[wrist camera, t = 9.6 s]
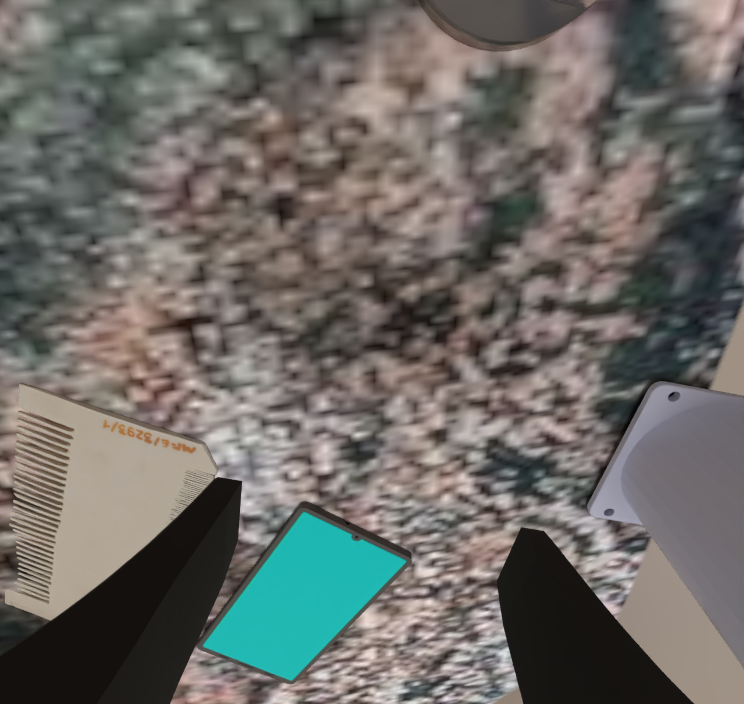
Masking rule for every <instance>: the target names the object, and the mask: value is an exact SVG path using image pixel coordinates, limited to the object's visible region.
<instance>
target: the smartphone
mask: <svg viewBox="0 0 744 704" xmlns="http://www.w3.org/2000/svg"><path fill="white" fill-rule="evenodd" d="M411 562H412V561H411V553H410V552H409V551H407V550H405V549H403V548H401V547H399V546H397V545H395V544H393V543H391V542H389V541H387V540H385V539H383V538H381V537H379V536H377V535H374V534H372V533H370V532H368V531H366V530H364V529H362V528H360V527H358V526H356V525H354V524H352V523H349V525H347V524H346V523H345V520H344V519H342V518H339V517H337V516H335V515H333V514H331V513H329V512H327V511H325V510H323V509H321V508H319V507H317V506H315V505H313V504H311V503H308V502H302V503H300V504H299V506H298V507H297V508H296V510H295V511H294V513H293V514H292V515H291V517H290V518H289V519H288V521H287V522H286V523H285V525H284V526H283V527H282V529H281V530H280V531H279V533H278V534H277V536H276V537H275V538H274V540H273V541H272V542H271V544H270V545H269V546H268V548H267V549H266V550H265V552H264V553H263V554H262V556H261V557H260V559H259V560H258V561H257V563H256V564H255V565H254V567H253V568H252V569H251V571H250V572H249V573H248V575H247V576H246V577H245V579H244V580H243V582H242V583H241V584H240V586H239V587H238V588H237V590H236V591H235V592H234V594H233V595H232V596H231V598H230V599H229V600H228V602H227V603H226V605H225V606H224V607H223V609H222V610H221V611H220V613H219V614H218V615H217V617H216V618H215V619H214V621H213V622H212V623H211V625H210V626H209V628H208V629H207V630H206V632H205V633H204V634H203V636H202V637H201V638H200V641H199V643H198V646H197V647H198V649H200V650H202V651H204V652H207V653H209V654H212V655H215V656H217V657H220V658H222V659H225V660H228V661H230V662H233V663H235V664H238V665H241V666H243V667H246V668H248V669H251V670H254V671H256V672H259V673H261V674H264V675H266V676H269V677H272V678H274V679H277V680H279V681H282V682H285V683H287V684H294V683H295V682H296V681H297V680H298V679H299V678H300V677H301V676H302V675H303V674H304V673H305V672H306V671H307V670H308V669H309V668H310V667H311V666H312V665H313V664H314V663H315V662H316V660H317V659H318V658H319V657H320V656H321V655H322V654H323V653H324V652H325V651H326V650H327V649H328V648H329V647H330V646H331V645H332V644H333V643H334V642H335V641H336V640H337V639H338V638H339V637H340V636H341V635H342V634H343V633H344V632H345V631H346V630H347V629H348V628H349V627H350V626H351V624H352V623H353V622H354V621H355V620H356V619H357V618H358V617H359V616H360V615H361V614H362V613H363V612H364V611H365V610H366V609H367V608H368V607H369V606H370V605H371V604H372V603H373V602H374V601H375V600H376V599H377V598H378V597H379V596H380V595H381V594H382V593H383V592H384V591H385V590H386V589H387V587H388V586H389V585H390V584H391V583H392V582H393V581H394V580H395V579H396V578H397V577H398V576H399V575H400V574H401V573H402V572H403V571H404V570H405V569H406V568H407V567H408V566H409V565H410V564H411Z"/></svg>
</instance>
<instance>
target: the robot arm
mask: <svg viewBox="0 0 744 704" xmlns="http://www.w3.org/2000/svg"><path fill="white" fill-rule="evenodd" d="M672 392H675V393H674V394H673V395H672V396H670V397H668V396H669V394H670V393H672ZM241 489H242V481H238V480H232V479H226V478H220V477H217V478H216V479H214V480H213V481H212V482H211V483H210V484H209V485H208V486H207V487H206V488H205V489H204V490H203V491H202V492H201V493H200V494H199V495H198V496H197V497H196V498H195V499H194V500H193V501H192V502H191V503H190V504H189V505H188V506H187V507H186V508H185V509H184V510H183V511H182V512H181V513H180V514H179V515H178V516H177V517H176V518H175V519H174V520H173V521H172V522H171V523H170V524H169V525H168V526H167V527H165V528H164V529H163V530H162V531H161V532H160V533H159V534H158V535H157V536H156V537H155V538H154V539H152V540H151V541H150V542H149V543H148V544H147V545H146V546H145V547H144V548H142V549H141V550H140V551H139V552H138V553H137V554H135V555H134V556H133V557H132V558H131V559H129V560H128V561H127V562H126V563H125V564H123V565H122V566H121V567H120V568H119V569H118V570H116V571H115V572H114V573H113V574H112V575H110V576H109V577H108V578H107V579H105V580H104V581H103V582H102V583H100V584H99V585H98V586H97V587H95V588H94V589H93V590H91V591H90V592H89V593H88V594H86V595H85V596H84V597H82V598H81V599H80V600H78V601H77V602H76V603H74V604H73V605H72V606H70V607H69V608H68V609H66V610H65V611H63V612H62V613H61V614H59V615H58V616H57V617H55V618H54V619H52V620H51V621H49V622H48V623H47V624H45V625H44V626H42V627H41V628H39V629H38V630H36V631H35V632H34V633H32V634H31V635H29V636H28V637H26V638H25V639H24V640H22V641H21V642H19V643H18V644H16V645H15V646H13V647H12V648H10V649H9V650H7V651H6V652H4V653H3V654H1V655H0V704H170V702H171V700H172V698H173V695H174V693H175V690H176V688H177V685H178V683H179V681H180V678H181V676H182V674H183V672H184V670H185V667H186V665H187V663H188V661H189V658H190V656H191V654H192V652H193V650H194V647H195V645H196V643H197V641H198V638H199V636H200V634H201V632H202V630H203V627H204V625H205V623H206V621H207V619H208V616H209V614H210V612H211V610H212V607H213V605H214V603H215V601H216V598H217V596H218V594H219V592H220V589H221V587H222V585H223V583H224V580H225V577H226V574H227V571H228V568H229V565H230V562H231V559H232V556H233V553H234V550H235V547H236V544H237V541H238V531H239V517H240V503H241ZM587 509H588V511H589V513H590V514H591V515H592V516H594V517H597V518H603V519H609V520H615V521H621V522H627V523H633V524H639V525H644V527H645V528H646V530H647V531H648V532H649V534H650V535H651V537H652V538H653V540H654V541H655V542H656V544H657V545H658V547H659V548H660V550H661V551H662V552H663V554H664V555H665V557H666V558H667V559H668V561H669V562H670V564H671V565H672V567H673V568H674V569H675V571H676V572H677V573H678V575H679V577H680V578H681V579H682V581H683V582H684V584H685V585H686V587H687V588H688V589H689V591H690V592H691V594H692V595H693V597H694V598H695V600H696V601H697V602H698V604H699V605H700V607H701V608H702V609H703V611H704V612H705V614H706V615H707V616H708V618H709V619H710V621H711V622H712V624H713V625H714V627H715V628H716V630H717V631H718V632H719V634H720V635H721V637H722V638H723V640H724V641H725V642H726V644H727V645H728V647H729V648H730V649H731V651H732V652H733V654H734V655H735V657H736V658H737V659H738V661H739V662H740V664H741V665H742V667H743V668H744V396H741V395H735V394H730V393H725V392H719V391H714V390H708V389H703V388H698V387H692V386H687V385H681V384H676V383H671V382H665V381H659V382H656V383H654V384H652V385H651V386H650V387H649V389H648V391H647V392H646V394H645V396H644V398H643V400H642V402H641V404H640V406H639V408H638V410H637V411H636V413H635V415H634V417H633V419H632V421H631V423H630V425H629V427H628V429H627V430H626V432H625V434H624V436H623V438H622V440H621V442H620V444H619V446H618V447H617V449H616V451H615V453H614V455H613V457H612V459H611V461H610V463H609V465H608V466H607V468H606V470H605V472H604V474H603V476H602V478H601V480H600V482H599V484H598V485H597V487H596V489H595V491H594V493H593V495H592V497H591V499H590V501H589V503H588V505H587ZM607 509H608V510H607ZM497 585H498V593H499V601H500V608H501V614H502V621H503V626H504V630H505V634H506V638H507V642H508V646H509V650H510V654H511V658H512V662H513V666H514V670H515V673H516V677H517V681H518V685H519V689H520V692H521V696H522V700H523V704H694V703H693V702H691V700H690V699H689V698H688V697H687V696H686V695H685V694H684V693H683V692H682V691H681V690H680V689H679V688H678V687H677V686H676V685H675V684H674V683H673V682H672V681H671V680H670V679H669V678H668V677H667V676H666V675H665V674H664V673H663V672H662V671H661V670H660V668H659V667H658V666H657V665H656V664H655V663H654V662H653V661H652V660H651V659H650V657H649V656H648V655H647V654H646V653H645V652H644V651H643V650H642V648H641V647H640V646H639V645H638V644H637V643H636V642H635V641H634V640H633V639H632V637H631V636H630V635H629V634H628V633H627V632H626V630H625V629H624V628H623V627H622V626H621V625H620V623H619V622H618V621H617V620H616V619H615V618H614V616H613V615H612V614H611V613H610V612H609V610H608V609H607V608H606V607H605V606H604V604H603V603H602V602H601V601H600V600H599V598H598V597H597V596H596V595H595V593H594V592H593V591H592V590H591V589H590V587H589V586H588V585H587V584H586V582H585V581H584V580H583V579H582V577H581V576H580V575H579V574H578V572H577V571H576V570H575V569H574V567H573V566H572V565H571V564H570V562H569V561H568V560H567V559H566V557H565V556H564V555H563V554H562V552H561V551H560V550H559V549H558V547H557V546H556V545H555V544H554V542H553V541H552V540H551V539H550V538H549V536H548V535H547V534H546V533H545V532H544V531H540V530H534V529H528V528H522V527H521V529H520V531H519V533H518V536H517V538H516V540H515V542H514V544H513V547H512V549H511V551H510V553H509V555H508V558H507V560H506V562H505V564H504V566H503V569H502V571H501V573H500V575H499V578H498V580H497Z"/></svg>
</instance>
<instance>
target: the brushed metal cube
mask: <svg viewBox="0 0 744 704" xmlns="http://www.w3.org/2000/svg"><path fill="white" fill-rule="evenodd" d="M546 1H551V2H555V3H560V4H565V5H569V6H574V7H579V8H583V9H586V8H587V7H589V6H590V5H591V4H592V3H594V2H595V1H596V0H546Z"/></svg>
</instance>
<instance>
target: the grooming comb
mask: <svg viewBox="0 0 744 704" xmlns="http://www.w3.org/2000/svg"><path fill="white" fill-rule="evenodd" d="M18 406H19V407H21V408H23V409H25V410H28V411H30V412H33V413H35V414H38V415H40V416H42V417H45V418H47V419H50V420H52V421H55V422H57V423H60V424H63V425H65V426H68V427H70V428H68V427H65V426H63V425H60V424H57V423H54V422H51V421H48V420H46V419H43V418H40V417H37V416H34V415H31V414H28V413H24V412H20V411H19V412H18V414H19V415H21V416H23V417H26V418H28V419H30V420H33V421H35V422H38V423H40V424H42V425H45V426H48V427H50V428H53V429H55V430H53V429H50V428H47V427H44V426H41V425H38V424H35V423H32V422H29V421H26V420H22V419H18V421H17V422H20V423H22V424H25V425H27V426H29V427H32V428H34V429H36V430H39V431H41V432H44V433H46V434H49V435H51V436H54V437H56V438H54V437H51V436H48V435H45V434H42V433H39V432H37V431H34V430H31V429H28V428H24V427H21V426H17V429H18V430H21V431H23V432H25V433H28V434H30V435H32V436H35V437H37V438H40V439H42V440H45V441H47V442H50V443H52V444H50V443H47V442H44V441H41V440H38V439H35V438H32V437H29V436H26V435H23V434H20V433H17V434H16V435H17V437H19V438H21V439H24V440H26V441H29V442H31V443H34V444H36V445H38V446H41V447H43V448H46V449H49V450H51V451H49V450H46V449H43V448H39V447H37V446H34V445H30V444H27V443H24V442H19V441H16V443H15V445H17V446H20V447H22V448H25V449H28V450H30V451H33V452H36V453H38V454H41V455H44V456H46V457H44V456H41V455H38V454H35V453H32V452H29V451H26V450H23V449H19V448H16V451H18V452H20V453H23V454H25V455H28V456H30V457H32V458H35V459H37V460H40V461H42V462H45V463H47V464H50V465H52V466H50V465H47V464H44V463H41V462H38V461H35V460H32V459H29V458H26V457H23V456H20V455H16V456H15V458H18V459H20V460H22V461H25V462H27V463H29V464H32V465H34V466H37V467H39V468H42V469H44V470H47V471H49V472H47V471H43V470H40V469H37V468H34V467H31V466H28V465H25V464H22V463H19V462H16V461H15V463H16V465H18V466H20V467H22V468H25V469H27V470H30V471H32V472H34V473H37V474H39V475H42V476H44V477H47V478H50V479H53V480H56V481H58V482H56V481H53V480H50V479H47V478H44V477H41V476H38V475H35V474H32V473H29V472H26V471H23V470H20V469H15V471H17V472H19V473H22V474H24V475H26V476H28V477H31V478H33V479H36V480H38V481H41V482H43V483H46V484H48V485H51V486H54V487H56V488H59V489H56V488H53V487H50V486H47V485H44V484H42V483H39V482H36V481H33V480H30V479H27V478H24V477H21V476H18V475H14V477H15V478H18V479H20V480H22V481H25V482H27V483H30V484H32V485H35V486H38V487H40V488H43V489H46V490H48V491H51V492H54V493H56V494H54V493H51V492H47V491H44V490H41V489H38V488H35V487H32V486H30V485H26V484H23V483H20V482H17V481H14V483H15V484H17V485H20V486H22V487H24V488H27V489H29V490H32V491H34V492H36V493H39V494H41V495H44V496H46V497H49V498H51V499H49V498H46V497H43V496H40V495H37V494H34V493H31V492H28V491H24V490H21V489H18V488H14V490H17V491H19V492H21V493H24V494H26V495H28V496H31V497H33V498H36V499H38V500H41V501H44V502H46V503H49V504H52V505H54V506H52V505H49V504H46V503H43V502H40V501H38V500H35V499H32V498H29V497H25V496H22V495H19V494H16V493H14V494H15V495H16V496H17V497H18V498H21V499H23V500H25V501H28V502H30V503H33V504H35V505H38V506H40V507H43V508H45V509H42V508H39V507H36V506H33V505H29V504H26V503H23V502H19V501H16V500H13V502H14V503H16V504H19V505H21V506H24V507H26V508H29V509H31V510H34V511H36V512H39V513H42V514H44V515H41V514H38V513H35V512H32V511H29V510H26V509H22V508H19V507H16V506H14V507H13V508H15V509H18V510H20V511H23V512H25V513H28V514H30V515H33V516H35V517H38V518H40V519H43V520H46V521H48V522H46V521H43V520H40V519H36V518H33V517H30V516H27V515H23V514H20V513H16V512H13V511H12V513H13V514H15V515H16V516H19V517H21V518H24V519H26V520H29V521H32V522H34V523H37V524H40V525H42V526H40V525H36V524H33V523H30V522H27V521H24V520H20V519H17V518H13V517H11V520H13V521H15V522H17V523H20V524H23V525H26V526H29V527H31V528H34V529H37V530H40V531H42V532H40V531H37V530H34V529H31V528H27V527H24V526H20V525H16V524H13V523H9V525H10V526H12V527H15V528H18V529H20V530H23V531H26V532H29V533H32V534H35V535H38V536H41V537H44V538H41V537H38V536H35V535H32V534H29V533H26V532H22V531H19V530H15V529H13V531H15V532H18V533H20V534H23V535H25V536H28V537H30V538H32V539H35V540H38V541H40V542H43V543H46V544H48V545H46V544H43V543H40V542H36V541H33V540H30V539H27V538H23V537H20V536H16V535H14V536H15V537H17V538H19V539H21V540H24V541H26V542H29V543H31V544H34V545H36V546H39V547H42V548H44V549H42V548H39V547H35V546H32V545H29V544H25V543H22V542H19V541H16V543H18V544H21V545H23V546H26V547H28V548H30V549H33V550H35V551H38V552H41V553H43V554H41V553H38V552H35V551H31V550H28V549H24V548H21V547H18V546H17V548H18V549H20V550H23V551H25V552H27V553H30V554H32V555H35V556H38V557H40V558H43V559H40V558H37V557H33V556H30V555H27V554H23V553H20V552H16V553H17V554H19V555H22V556H24V557H27V558H29V559H32V560H34V561H37V562H39V563H36V562H33V561H29V560H26V559H23V558H19V557H18V559H20V560H22V561H24V562H27V563H29V564H32V565H34V566H37V567H39V568H42V569H44V570H42V569H39V568H36V567H32V566H29V565H25V564H22V563H19V565H21V566H24V567H26V568H29V569H31V570H34V571H36V572H39V573H41V574H39V573H36V572H32V571H29V570H25V569H22V568H18V569H20V570H22V571H25V572H27V573H29V574H32V575H34V576H37V577H39V578H37V577H33V576H29V575H26V574H22V573H18V574H19V575H22V576H24V577H27V578H29V579H32V580H34V581H37V582H39V583H42V584H44V585H42V584H39V583H36V582H32V581H28V580H25V579H21V578H18V580H20V581H23V582H25V583H28V584H30V585H33V586H35V587H32V586H29V585H25V584H21V583H18V582H15V584H17V585H20V586H22V587H25V588H27V589H30V590H33V591H35V592H38V593H35V592H32V591H29V590H26V589H19V588H16V589H19V590H21V591H24V592H27V593H29V594H32V595H35V596H37V597H40V598H43V599H40V598H37V597H33V596H30V595H27V594H23V593H19V592H16V591H12V590H6V594H5V603H6V604H9V605H14V606H15V607H17V608H20V609H23V610H25V611H28V612H31V613H33V614H36V615H39V616H41V617H44V618H46V619H48V620H52V619H54V618H55V617H57V616H58V615H59V614H61V613H62V612H63V611H65V610H66V609H68V608H69V607H70V606H72V605H73V604H74V603H76V602H77V601H78V600H80V599H81V598H82V597H84V596H85V595H86V594H88V593H89V592H90V591H91V590H93V589H94V588H95V587H97V586H98V585H99V584H100V583H102V582H103V581H104V580H105V579H107V578H108V577H109V576H110V575H112V574H113V573H114V572H115V571H116V570H118V569H119V568H120V567H121V566H122V565H123V564H125V563H126V562H127V561H128V560H129V559H131V558H132V557H133V556H134V555H135V554H137V553H138V552H139V551H140V550H141V549H142V548H144V547H145V546H146V545H147V544H148V543H149V542H150V541H151V540H152V539H154V538H155V537H156V536H157V535H158V534H159V533H160V532H161V531H162V530H163V529H164V528H165V527H167V526H168V525H169V524H170V523H171V522H172V521H173V520H174V519H175V518H176V517H177V516H178V515H179V514H180V513H181V512H182V511H183V510H184V509H185V508H186V507H187V506H188V505H189V504H190V503H191V502H192V501H193V500H194V499H195V498H196V497H197V496H198V495H199V494H200V493H201V492H202V491H203V490H204V489H205V488H206V487H207V486H208V485H209V484H210V483H211V482H212V481H213V480H214V477H215V475H216V474H217V471H218V467H217V465H216V463H215V461H214V460H213V458H212V456H211V454H210V452H209V450H208V448H207V446H206V445H205V443H204V442H202V441H199V440H196V439H193V438H190V437H187V436H184V435H181V434H178V433H175V432H172V431H169V430H166V429H163V428H160V427H156V426H153V425H150V424H147V423H144V422H141V421H138V420H134V419H131V418H128V417H125V416H122V415H119V414H116V413H113V412H109V411H106V410H103V409H100V408H97V407H94V406H91V405H88V404H85V403H82V402H79V401H75V400H72V399H69V398H67V397H64V396H61V395H58V394H55V393H52V392H49V391H46V390H43V389H39V388H36V387H32V386H29V385H25V384H19V393H18ZM56 430H58V431H60V432H58V431H56ZM62 432H63V433H62ZM65 433H66V434H65ZM57 438H59V439H57ZM60 439H62V440H64V441H62V440H60ZM65 441H67V442H65ZM68 442H69V443H68ZM53 444H55V445H53ZM56 445H58V446H56ZM59 446H60V447H59ZM62 447H63V448H62ZM65 448H66V449H65ZM67 449H68V450H67ZM52 451H54V452H52ZM55 452H57V453H55ZM58 453H59V454H58ZM60 454H62V455H60ZM63 455H64V456H63ZM66 456H67V457H66ZM47 457H49V458H47ZM50 458H52V459H50ZM53 459H55V460H58V461H60V462H58V461H55V460H53ZM61 462H63V463H61ZM64 463H66V464H64ZM53 466H55V467H53ZM56 467H58V468H56ZM59 468H60V469H59ZM62 469H63V470H62ZM50 472H52V473H54V474H52V473H50ZM55 474H57V475H55ZM58 475H59V476H58ZM61 476H62V477H61ZM59 482H61V483H59ZM62 483H63V484H62ZM60 489H62V490H60ZM63 490H64V491H63ZM57 494H59V495H57ZM60 495H61V496H60ZM52 499H54V500H52ZM55 500H57V501H55ZM58 501H60V502H58ZM61 502H62V503H61ZM55 506H57V507H55ZM58 507H60V508H58ZM46 509H48V510H46ZM49 510H50V511H49ZM52 511H53V512H52ZM55 512H56V513H55ZM45 515H47V516H45ZM48 516H50V517H48ZM51 517H52V518H51ZM54 518H55V519H54ZM56 519H58V520H56ZM50 522H51V523H50ZM53 523H54V524H53ZM43 526H45V527H43ZM46 527H48V528H46ZM49 528H51V529H49ZM53 529H54V530H53ZM44 532H45V533H44ZM47 533H49V534H47ZM50 534H52V535H55V536H52V535H50ZM45 538H47V539H45ZM48 539H50V540H48ZM51 540H52V541H51ZM49 545H51V546H49ZM52 546H53V547H52ZM45 549H47V550H45ZM45 554H46V555H45ZM44 559H45V560H44ZM47 560H48V561H47ZM40 563H42V564H40ZM43 564H45V565H43ZM46 570H47V571H46ZM49 571H50V572H49ZM42 574H44V575H42ZM45 575H46V576H45ZM40 578H42V579H40ZM46 585H47V586H46ZM36 587H38V588H36ZM39 588H41V589H39ZM42 589H44V590H42ZM45 590H47V591H45ZM39 593H40V594H39ZM44 599H46V600H44Z"/></svg>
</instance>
